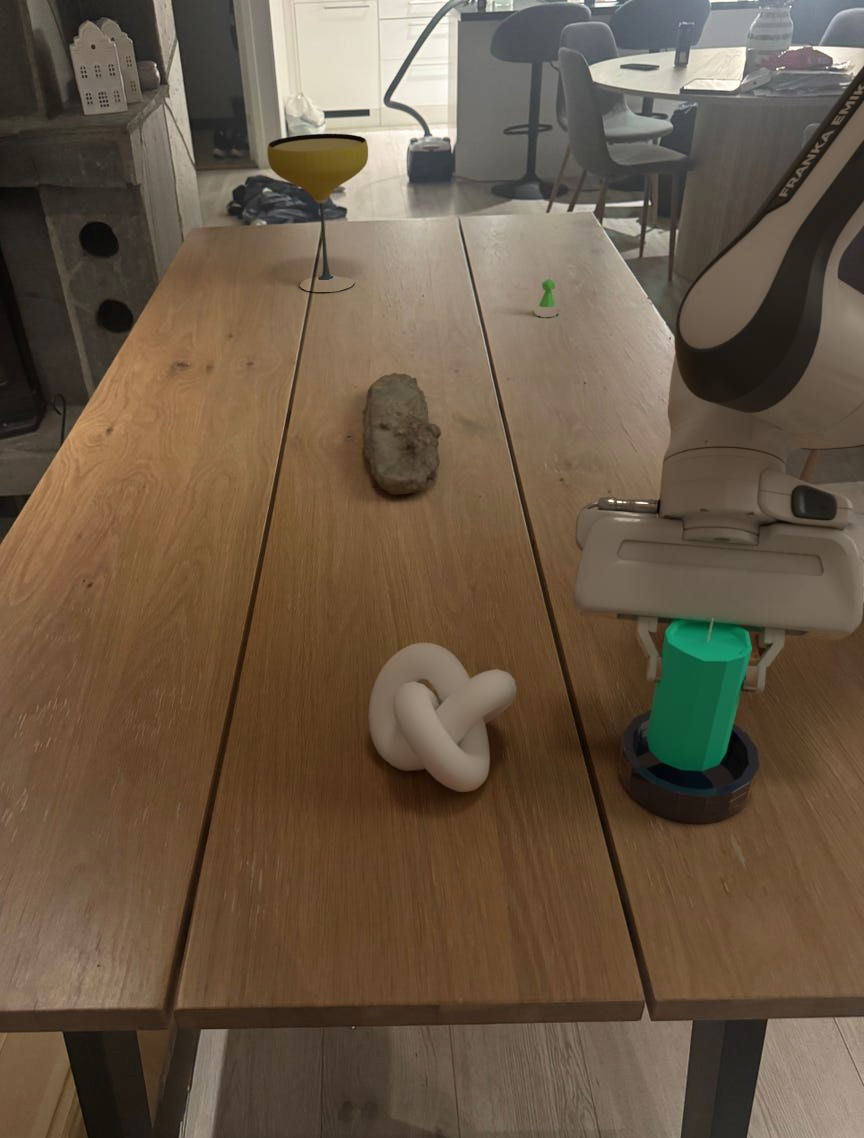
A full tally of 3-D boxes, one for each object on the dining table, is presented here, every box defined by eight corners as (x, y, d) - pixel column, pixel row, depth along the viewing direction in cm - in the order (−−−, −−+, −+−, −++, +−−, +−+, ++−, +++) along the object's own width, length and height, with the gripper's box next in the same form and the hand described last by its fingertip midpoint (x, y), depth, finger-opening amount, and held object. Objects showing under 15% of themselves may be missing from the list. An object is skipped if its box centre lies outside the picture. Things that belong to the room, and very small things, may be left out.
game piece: (529, 314, 168) (531, 279, 165) (545, 308, 171) (547, 273, 167) (548, 319, 166) (550, 284, 162) (564, 313, 168) (566, 278, 164)
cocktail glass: (276, 276, 192) (262, 137, 178) (365, 268, 195) (358, 130, 180) (285, 303, 178) (271, 154, 163) (380, 294, 180) (375, 147, 165)
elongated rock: (427, 396, 143) (361, 403, 144) (425, 361, 140) (358, 368, 141) (450, 495, 114) (367, 503, 114) (448, 454, 111) (363, 462, 111)
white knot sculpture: (468, 691, 86) (471, 609, 80) (548, 773, 77) (557, 687, 72) (356, 734, 82) (350, 651, 76) (427, 826, 73) (426, 739, 68)
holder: (768, 763, 77) (776, 735, 76) (724, 844, 71) (732, 815, 69) (648, 717, 82) (653, 690, 80) (597, 789, 76) (601, 761, 74)
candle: (694, 783, 71) (723, 655, 64) (630, 741, 75) (650, 616, 68) (742, 746, 74) (775, 620, 67) (678, 708, 78) (702, 585, 71)
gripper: (580, 482, 71) (561, 666, 69) (877, 502, 67) (865, 698, 65) (578, 506, 77) (560, 676, 75) (849, 526, 73) (838, 706, 71)
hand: (704, 687), depth 70 cm, fingers closed on candle, 5 cm apart
